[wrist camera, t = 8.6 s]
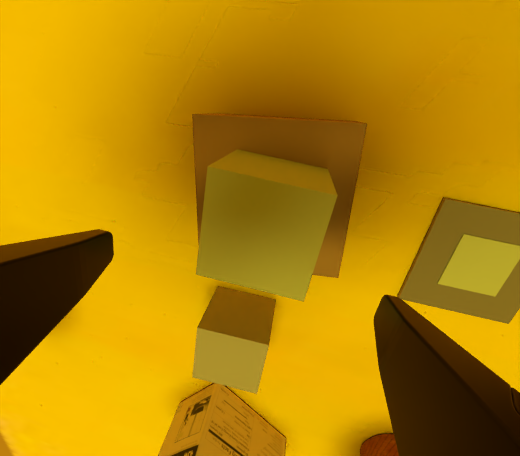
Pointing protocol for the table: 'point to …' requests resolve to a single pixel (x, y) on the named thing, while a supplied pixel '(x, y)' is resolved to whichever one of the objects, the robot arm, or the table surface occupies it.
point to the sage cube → (264, 222)
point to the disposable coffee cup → (380, 446)
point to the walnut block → (293, 149)
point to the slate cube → (234, 339)
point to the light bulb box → (220, 428)
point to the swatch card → (468, 262)
